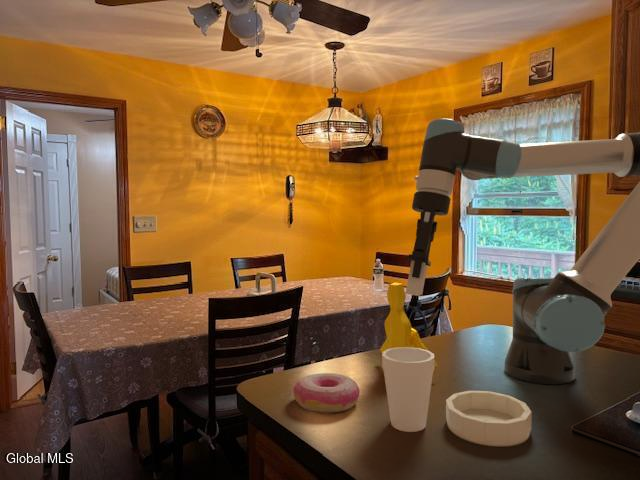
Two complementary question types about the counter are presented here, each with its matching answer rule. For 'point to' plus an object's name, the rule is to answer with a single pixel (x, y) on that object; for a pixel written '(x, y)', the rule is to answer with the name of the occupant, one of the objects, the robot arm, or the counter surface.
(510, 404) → the dish
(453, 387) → the counter surface
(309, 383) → the donut
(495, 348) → the counter surface
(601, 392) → the counter surface
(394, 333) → the figure statuette
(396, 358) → the foam cup
